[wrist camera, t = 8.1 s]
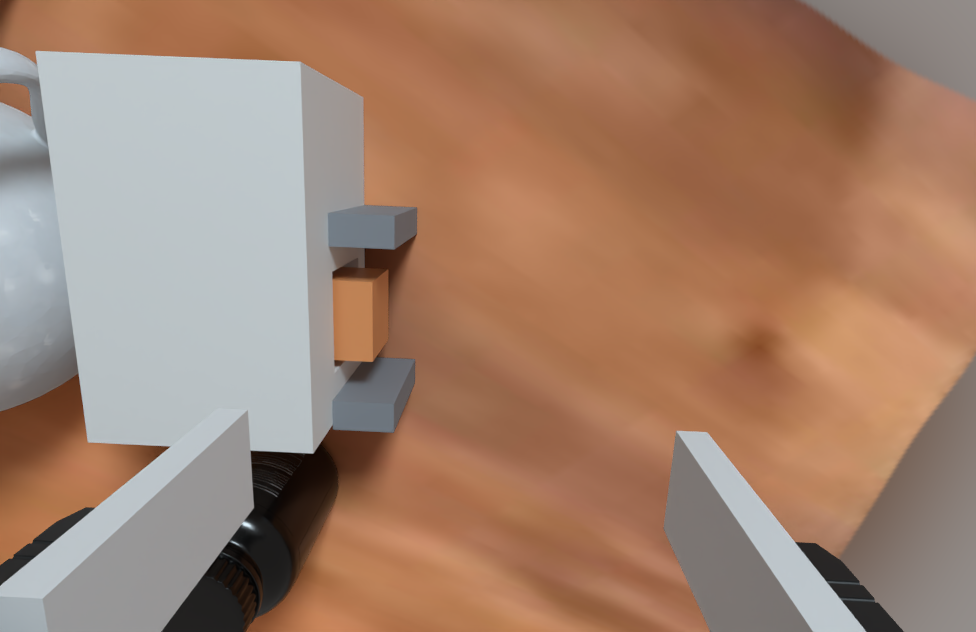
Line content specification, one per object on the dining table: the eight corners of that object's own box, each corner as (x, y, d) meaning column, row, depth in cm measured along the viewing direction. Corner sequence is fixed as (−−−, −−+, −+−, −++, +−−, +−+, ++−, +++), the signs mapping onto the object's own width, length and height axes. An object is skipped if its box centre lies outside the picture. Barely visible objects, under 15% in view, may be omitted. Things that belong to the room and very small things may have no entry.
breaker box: (202, 372, 35) (88, 447, 25) (180, 89, 31) (35, 51, 22) (415, 382, 35) (381, 462, 25) (418, 99, 31) (380, 64, 21)
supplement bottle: (213, 475, 37) (80, 613, 25) (281, 405, 36) (174, 516, 24) (295, 542, 38) (203, 705, 26) (364, 476, 37) (299, 617, 25)
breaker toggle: (255, 333, 32) (222, 354, 29) (251, 262, 31) (216, 274, 28) (388, 339, 32) (372, 361, 28) (388, 269, 31) (372, 282, 27)
